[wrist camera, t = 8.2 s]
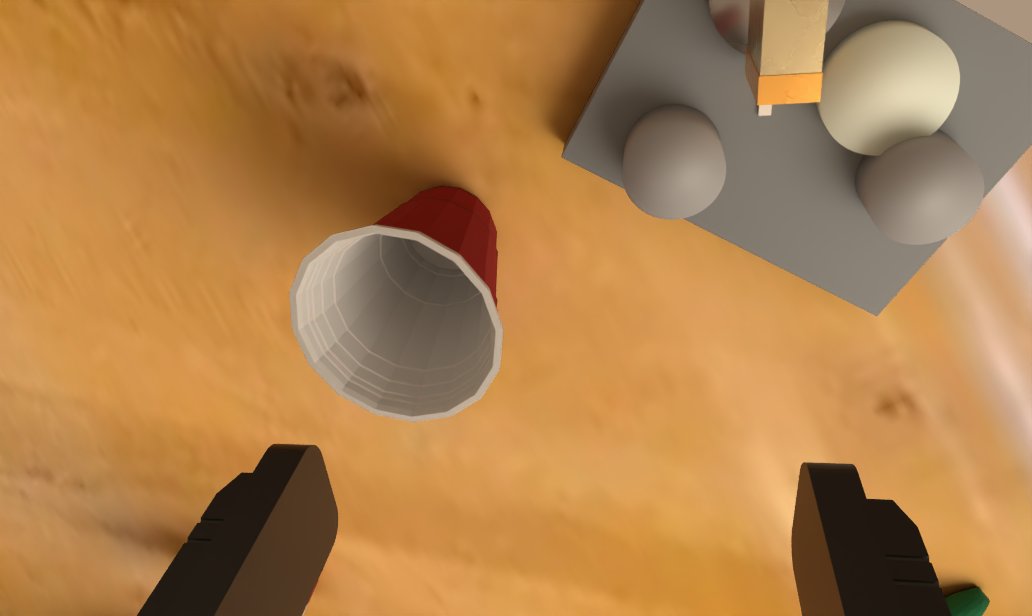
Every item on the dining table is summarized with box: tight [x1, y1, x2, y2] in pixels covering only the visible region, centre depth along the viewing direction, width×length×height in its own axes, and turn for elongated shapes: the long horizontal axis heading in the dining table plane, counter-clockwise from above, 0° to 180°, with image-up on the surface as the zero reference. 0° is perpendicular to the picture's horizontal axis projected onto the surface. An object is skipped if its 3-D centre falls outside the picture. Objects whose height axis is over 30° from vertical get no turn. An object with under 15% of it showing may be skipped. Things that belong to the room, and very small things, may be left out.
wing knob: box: [708, 0, 845, 105], centre depth 33 cm, size 7×6×6 cm
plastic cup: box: [289, 186, 503, 422], centre depth 42 cm, size 11×11×12 cm
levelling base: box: [561, 0, 1032, 316], centre depth 38 cm, size 20×15×5 cm
